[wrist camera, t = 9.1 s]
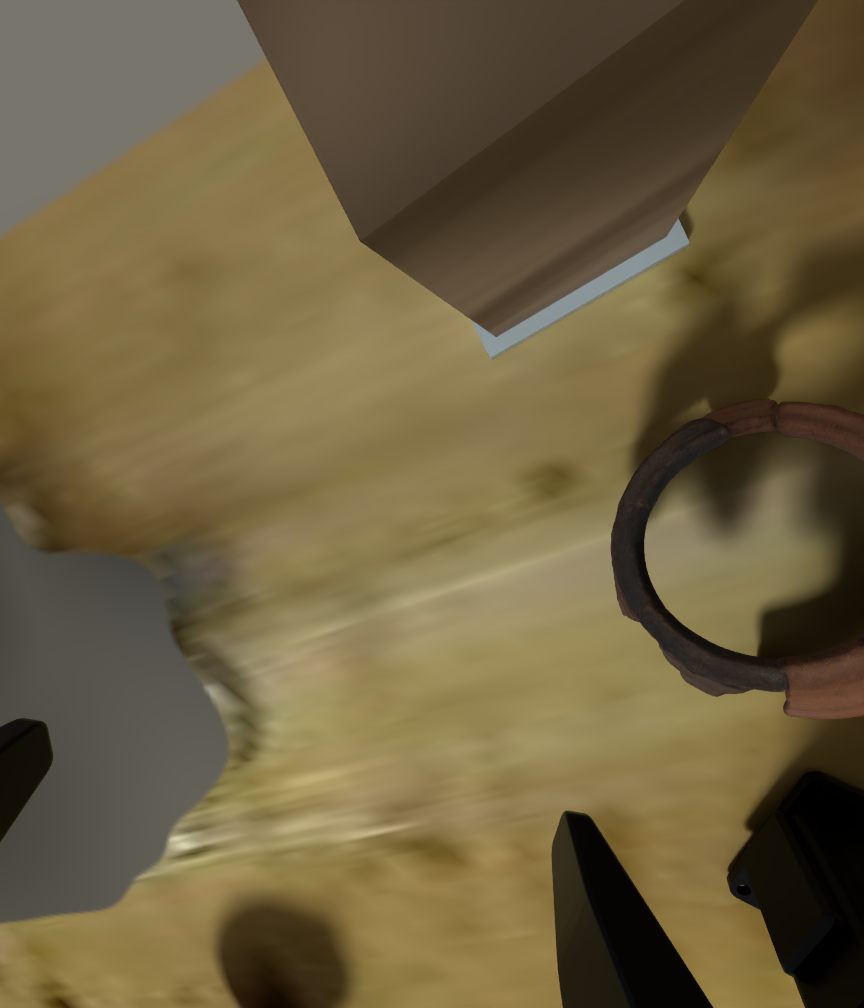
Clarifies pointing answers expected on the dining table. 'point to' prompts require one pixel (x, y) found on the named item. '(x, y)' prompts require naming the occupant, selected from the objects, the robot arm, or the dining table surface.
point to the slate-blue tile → (586, 293)
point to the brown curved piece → (713, 669)
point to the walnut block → (518, 127)
